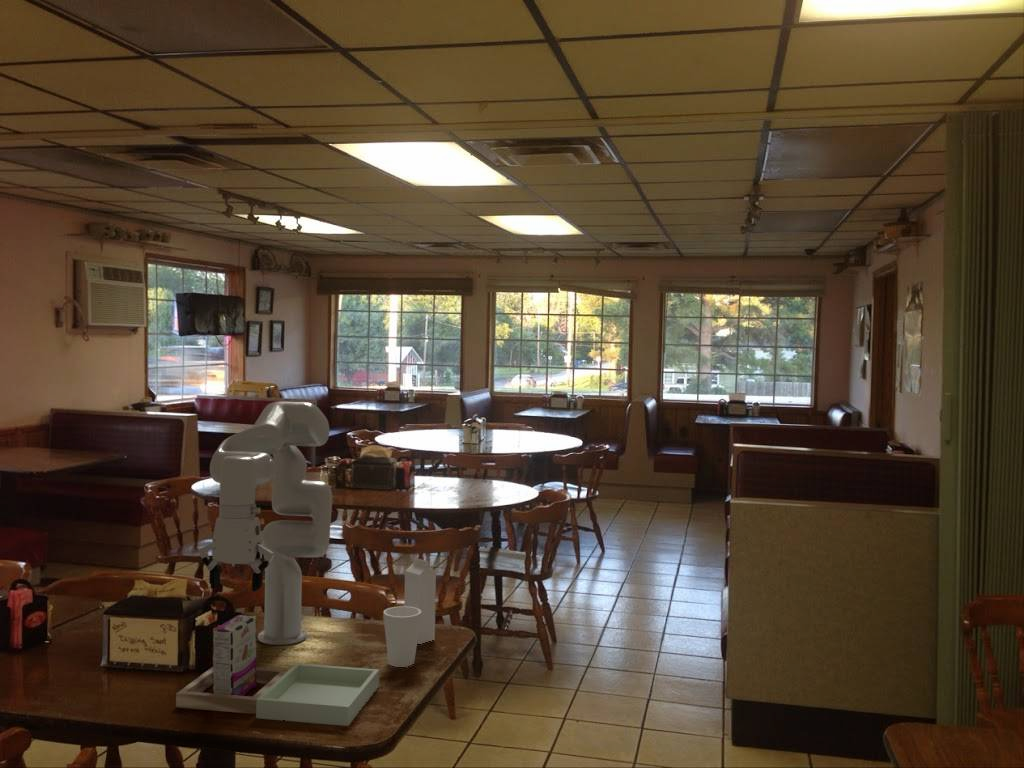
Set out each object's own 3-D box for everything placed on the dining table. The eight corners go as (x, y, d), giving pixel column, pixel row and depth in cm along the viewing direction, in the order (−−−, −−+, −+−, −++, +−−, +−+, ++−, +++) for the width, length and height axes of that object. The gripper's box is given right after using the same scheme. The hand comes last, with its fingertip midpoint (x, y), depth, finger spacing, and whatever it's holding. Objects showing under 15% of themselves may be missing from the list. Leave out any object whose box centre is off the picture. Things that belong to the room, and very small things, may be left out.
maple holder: (215, 677, 207) (215, 664, 207) (288, 683, 204) (289, 670, 204) (176, 707, 189) (176, 693, 189) (255, 714, 187) (255, 699, 187)
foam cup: (405, 654, 226) (406, 604, 225) (428, 664, 219) (429, 612, 219) (374, 662, 219) (375, 611, 219) (397, 673, 213) (398, 619, 212)
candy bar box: (237, 684, 203) (238, 614, 202) (257, 686, 202) (258, 615, 201) (211, 703, 192) (212, 628, 191) (232, 705, 191) (233, 630, 190)
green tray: (296, 680, 206) (296, 663, 206) (378, 686, 204) (379, 669, 203) (256, 718, 185) (256, 699, 184) (348, 726, 182) (348, 706, 182)
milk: (418, 645, 233) (419, 563, 232) (403, 640, 237) (404, 559, 236) (435, 640, 237) (436, 559, 236) (420, 635, 241) (421, 555, 241)
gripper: (281, 510, 198) (279, 586, 198) (208, 507, 200) (207, 582, 201) (267, 516, 190) (265, 595, 191) (192, 512, 193) (190, 590, 193)
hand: (235, 588), depth 196 cm, fingers open, 9 cm apart
